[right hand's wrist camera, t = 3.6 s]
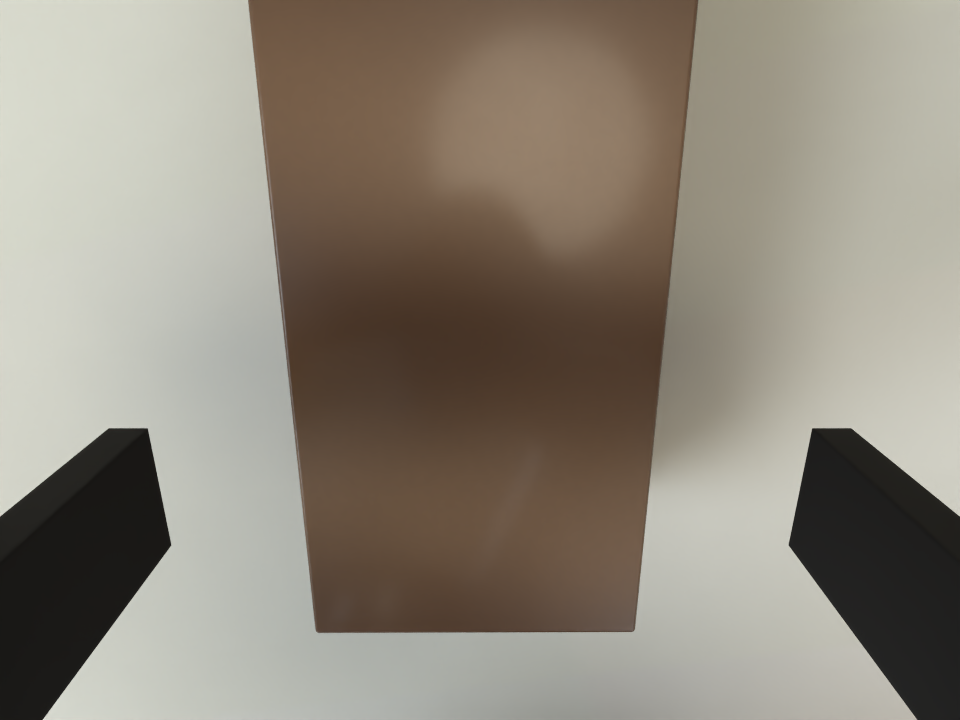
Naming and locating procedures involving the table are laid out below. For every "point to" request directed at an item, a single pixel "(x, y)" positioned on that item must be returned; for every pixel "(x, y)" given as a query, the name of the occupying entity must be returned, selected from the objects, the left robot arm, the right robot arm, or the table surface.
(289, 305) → the slab
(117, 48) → the table surface
